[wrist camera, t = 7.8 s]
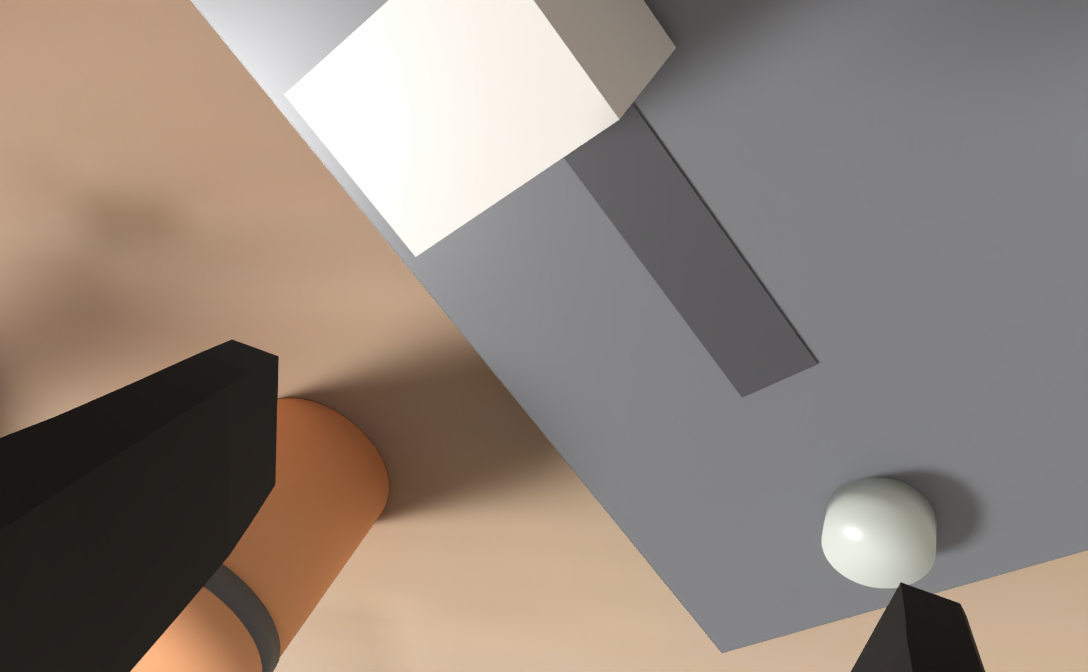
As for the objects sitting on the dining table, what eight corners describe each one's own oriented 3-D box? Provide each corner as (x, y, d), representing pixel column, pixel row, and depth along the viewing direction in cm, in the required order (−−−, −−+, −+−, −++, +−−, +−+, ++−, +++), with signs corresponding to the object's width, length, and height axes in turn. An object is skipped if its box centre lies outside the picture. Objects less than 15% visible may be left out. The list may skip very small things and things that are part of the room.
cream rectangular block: (386, 32, 17) (283, 94, 15) (560, -121, 15) (476, -80, 13) (494, 174, 18) (415, 257, 16) (676, 47, 16) (619, 119, 13)
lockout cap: (214, 433, 26) (46, 601, 21) (312, 371, 24) (149, 543, 19) (320, 548, 27) (181, 733, 22) (423, 498, 25) (294, 693, 20)
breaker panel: (192, -50, 19) (130, -29, 18) (1550, -1585, 8) (1677, -1857, 7) (730, 620, 24) (714, 681, 22) (2098, 208, 12) (2246, 276, 11)
